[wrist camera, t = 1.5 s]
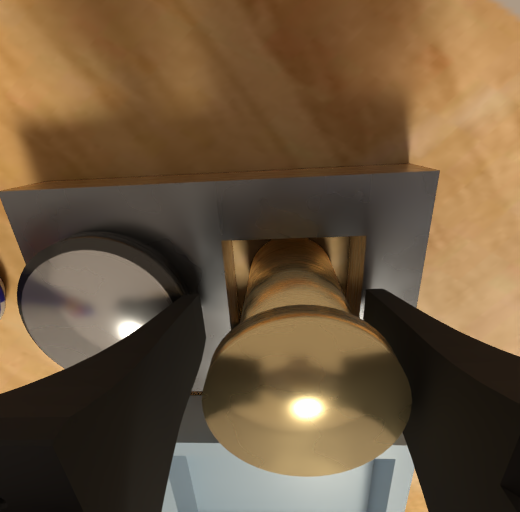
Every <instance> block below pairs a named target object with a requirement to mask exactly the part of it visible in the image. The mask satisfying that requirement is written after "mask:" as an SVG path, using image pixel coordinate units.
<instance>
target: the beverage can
mask: <svg viewBox="0 0 520 512" xmlns="http://www.w3.org/2000/svg"><path fill="white" fill-rule="evenodd" d="M5 301H6V300H5V287H4V284H3V281H2V279H1V278H0V319H1V318H2V316H3V314H4V311H5Z"/></svg>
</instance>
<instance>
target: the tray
mask: <svg viewBox="0 0 520 512" xmlns="http://www.w3.org/2000/svg"><path fill="white" fill-rule="evenodd" d="M413 472H414V464H413V461H412V458H411V455H410V452H409V449H408V447H407V444H406V441H405V438H404V435H403V432H402V433H401V435H400V436H399V438H398V439H397V440H396V441H395V442H394V443H393V445H392V446H391V447H390V448H388V449H387V450H386V451H385V452H384V453H382V454H381V455H379V456H378V457H376V458H375V459H373V460H372V461H370V462H368V463H366V464H364V465H362V466H359V467H357V468H354V469H352V470H348V471H345V472H341V473H337V474H332V475H325V476H314V477H301V476H289V475H282V474H277V473H273V472H269V471H266V470H263V469H260V468H257V467H255V466H252V465H250V464H248V463H246V462H244V461H242V460H241V459H239V458H237V457H236V456H234V455H233V454H232V453H230V452H229V451H228V450H227V449H226V448H224V447H223V446H222V445H221V444H220V443H219V441H218V440H217V439H216V438H215V437H214V435H213V434H212V432H211V430H210V429H209V427H208V425H207V422H206V420H205V417H204V413H203V409H202V395H190V397H189V400H188V403H187V406H186V409H185V412H184V415H183V418H182V421H181V425H180V428H179V433H178V437H177V441H176V446H175V450H174V454H173V459H172V463H171V468H170V473H169V477H168V482H167V487H166V492H165V497H164V502H163V507H162V512H405V508H406V503H407V499H408V494H409V490H410V485H411V481H412V476H413Z"/></svg>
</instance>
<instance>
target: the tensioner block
mask: <svg viewBox="0 0 520 512" xmlns="http://www.w3.org/2000/svg"><path fill="white" fill-rule="evenodd" d="M439 172H440V170H435V169H431V168H427V167H422V166H418V165H414V164H410V163H409V164H388V165H368V166H348V167H327V168H307V169H287V170H266V171H246V172H226V173H206V174H185V175H165V176H145V177H124V178H104V179H84V180H64V181H45V182H40V183H36V184H31V185H26V186H21V187H17V188H12V189H7V190H3V191H0V198H1V201H2V204H3V206H4V209H5V211H6V214H7V216H8V219H9V222H10V224H11V227H12V229H13V232H14V235H15V237H16V240H17V242H18V245H19V248H20V250H21V253H22V255H23V258H24V260H25V263H26V266H25V268H24V270H23V272H22V274H21V276H20V279H19V283H18V289H17V302H18V308H19V313H20V315H21V318H22V321H23V323H24V325H25V327H26V329H27V331H28V333H29V334H30V336H31V337H32V339H33V340H34V342H35V343H36V344H37V345H38V346H39V348H40V349H41V350H42V351H43V352H44V353H45V354H46V355H47V356H48V357H50V358H51V359H52V360H53V361H55V362H56V363H57V364H59V365H60V366H62V367H63V368H65V369H66V368H69V367H71V366H73V365H75V364H77V363H79V362H81V361H83V360H85V359H87V358H89V357H91V356H93V355H95V354H97V353H99V352H101V351H103V350H104V349H106V348H108V347H110V346H111V345H113V344H115V343H117V342H118V341H120V340H122V339H123V338H125V337H126V336H128V335H129V334H131V333H132V332H134V331H135V330H137V329H138V328H140V327H141V326H142V325H144V324H145V323H147V322H148V321H150V320H151V319H152V318H154V317H155V316H156V315H158V314H159V313H160V312H161V311H163V310H164V309H165V308H167V307H168V306H169V305H171V304H172V303H173V302H174V301H176V300H177V299H179V298H180V297H181V296H183V295H187V294H200V299H201V306H202V312H203V319H204V326H205V332H206V342H205V347H204V352H203V357H202V361H201V365H200V368H199V371H198V374H197V377H196V380H195V382H194V385H193V388H192V391H203V387H204V384H205V380H206V377H207V373H208V370H209V366H210V363H211V359H212V356H213V354H214V352H215V350H216V348H217V346H218V345H219V344H220V342H221V341H222V339H223V338H224V337H225V336H226V335H227V334H228V333H229V332H230V331H231V330H232V329H233V328H235V327H236V326H237V325H238V324H240V320H239V309H238V298H237V288H236V277H235V267H234V256H233V246H232V240H255V239H285V238H314V237H344V236H350V243H349V259H348V274H347V289H346V300H347V303H348V305H349V307H350V310H351V312H352V315H355V316H357V317H359V318H360V319H362V320H363V315H364V304H365V293H366V289H385V290H387V291H389V292H390V293H392V294H394V295H395V296H397V297H399V298H400V299H402V300H404V301H405V302H407V303H409V304H410V305H412V306H414V307H415V308H416V307H417V301H418V295H419V289H420V284H421V278H422V272H423V266H424V260H425V254H426V248H427V243H428V237H429V231H430V225H431V219H432V213H433V208H434V202H435V196H436V190H437V184H438V178H439Z"/></svg>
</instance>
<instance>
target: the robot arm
mask: <svg viewBox="0 0 520 512" xmlns="http://www.w3.org/2000/svg"><path fill="white" fill-rule="evenodd" d="M363 320H364V321H366V322H367V323H368V324H370V325H371V326H372V327H374V328H375V329H376V330H377V331H378V332H379V333H380V334H381V335H382V336H383V337H384V338H385V339H386V341H387V342H388V343H389V345H390V346H391V348H392V350H393V352H394V353H395V355H396V357H397V359H398V361H399V363H400V365H401V367H402V369H403V370H404V372H405V375H406V377H407V379H408V381H409V385H410V388H411V395H412V406H411V413H410V416H409V420H408V422H407V424H406V426H405V429H404V430H403V435H404V438H405V441H406V444H407V447H408V449H409V452H410V455H411V458H412V461H413V464H414V467H415V470H416V473H417V476H418V479H419V482H420V485H421V488H422V492H423V495H424V498H425V501H426V505H427V508H428V511H429V512H520V357H519V356H516V355H513V354H511V353H508V352H505V351H503V350H500V349H498V348H495V347H493V346H490V345H488V344H486V343H483V342H481V341H479V340H477V339H474V338H472V337H470V336H468V335H465V334H463V333H461V332H459V331H457V330H455V329H453V328H451V327H449V326H447V325H446V324H444V323H442V322H440V321H438V320H436V319H434V318H433V317H431V316H429V315H427V314H425V313H424V312H422V311H420V310H419V309H417V308H415V307H414V306H412V305H410V304H409V303H407V302H405V301H404V300H402V299H400V298H399V297H397V296H395V295H394V294H392V293H390V292H389V291H387V290H385V289H366V293H365V304H364V315H363ZM205 342H206V332H205V326H204V319H203V312H202V306H201V299H200V294H187V295H183V296H181V297H180V298H179V299H177V300H176V301H174V302H173V303H172V304H171V305H169V306H168V307H167V308H165V309H164V310H163V311H161V312H160V313H159V314H158V315H156V316H155V317H154V318H152V319H151V320H150V321H148V322H147V323H145V324H144V325H142V326H141V327H140V328H138V329H137V330H135V331H134V332H132V333H131V334H129V335H128V336H126V337H125V338H123V339H122V340H120V341H118V342H117V343H115V344H113V345H111V346H110V347H108V348H106V349H104V350H103V351H101V352H99V353H97V354H95V355H93V356H91V357H89V358H87V359H85V360H83V361H81V362H79V363H77V364H75V365H73V366H71V367H69V368H66V369H64V370H62V371H60V372H57V373H55V374H53V375H50V376H48V377H45V378H43V379H40V380H38V381H35V382H33V383H30V384H28V385H25V386H22V387H20V388H17V389H14V390H11V391H8V392H5V393H2V394H0V512H162V507H163V502H164V497H165V492H166V487H167V482H168V477H169V473H170V468H171V463H172V459H173V454H174V450H175V446H176V441H177V437H178V433H179V428H180V425H181V421H182V418H183V415H184V412H185V409H186V406H187V403H188V400H189V397H190V394H191V391H192V388H193V385H194V382H195V380H196V377H197V374H198V371H199V368H200V365H201V361H202V357H203V352H204V347H205Z"/></svg>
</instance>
